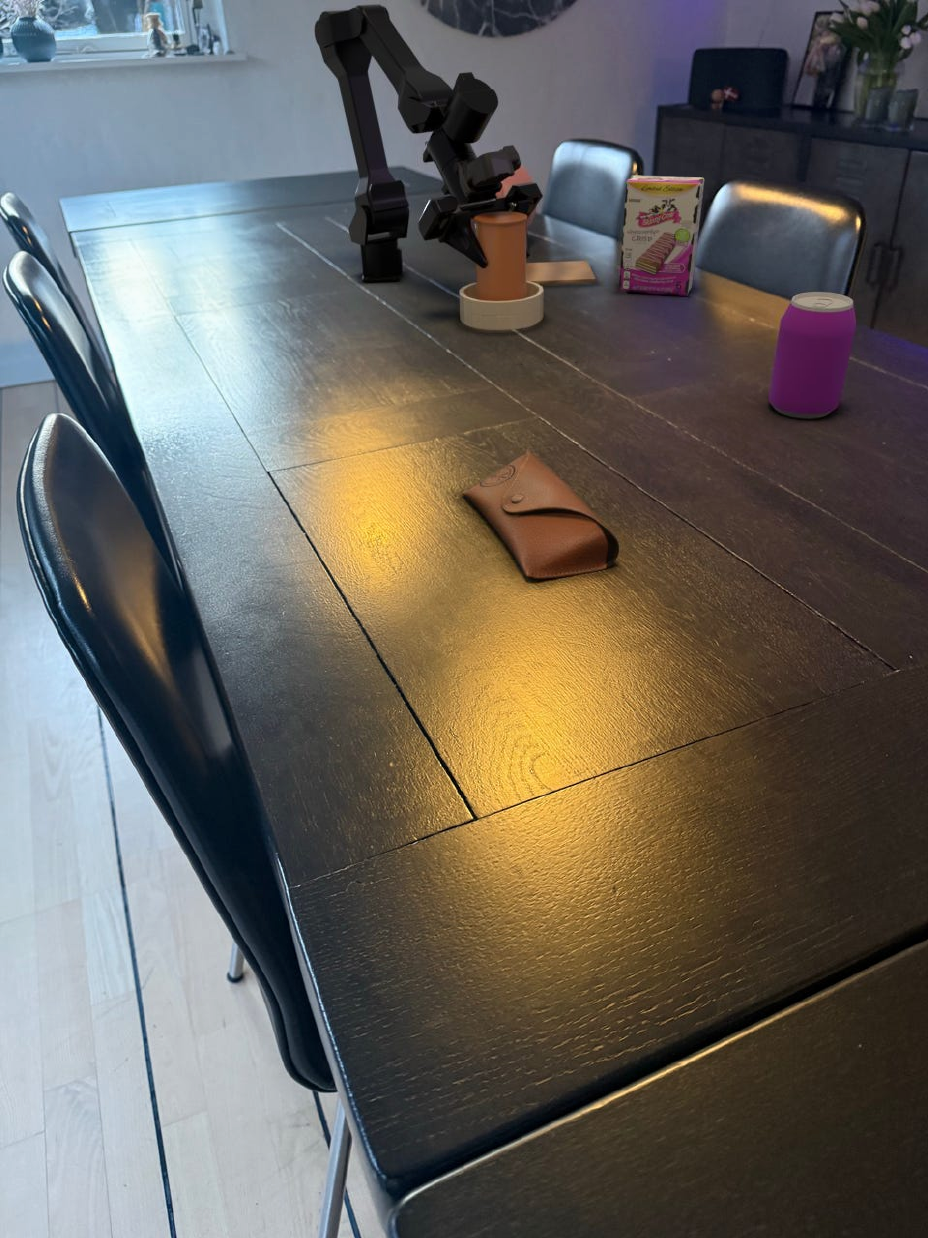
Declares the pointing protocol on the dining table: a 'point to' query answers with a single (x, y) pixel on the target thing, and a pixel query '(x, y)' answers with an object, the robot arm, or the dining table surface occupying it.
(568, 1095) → the dining table surface
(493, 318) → the cream round container
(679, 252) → the candy bar box
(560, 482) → the sunglasses case
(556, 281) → the plate
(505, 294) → the orange lidded canister
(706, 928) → the dining table surface
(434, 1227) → the dining table surface
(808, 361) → the beverage can
